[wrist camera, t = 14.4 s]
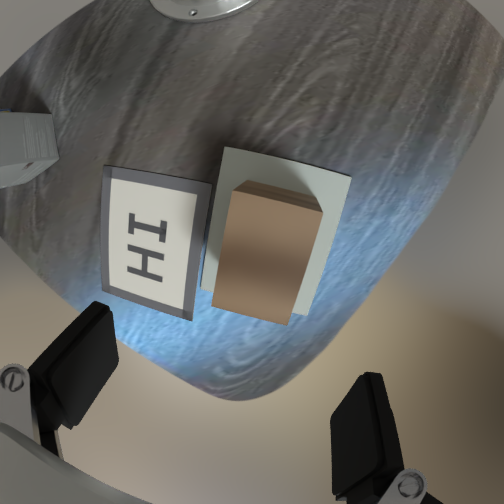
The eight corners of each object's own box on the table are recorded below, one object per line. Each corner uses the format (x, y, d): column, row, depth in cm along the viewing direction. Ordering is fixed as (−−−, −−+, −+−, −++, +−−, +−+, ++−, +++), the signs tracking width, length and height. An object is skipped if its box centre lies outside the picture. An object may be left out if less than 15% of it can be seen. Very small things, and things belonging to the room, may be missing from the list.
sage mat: (227, 146, 23) (224, 146, 22) (349, 176, 23) (351, 177, 22) (203, 284, 29) (200, 288, 28) (306, 310, 28) (306, 315, 27)
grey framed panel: (109, 164, 26) (103, 165, 25) (215, 182, 25) (212, 184, 24) (106, 286, 31) (102, 290, 30) (195, 316, 31) (192, 321, 30)
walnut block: (247, 179, 23) (232, 190, 18) (316, 197, 23) (323, 212, 17) (227, 273, 27) (211, 305, 21) (289, 288, 26) (287, 325, 21)
